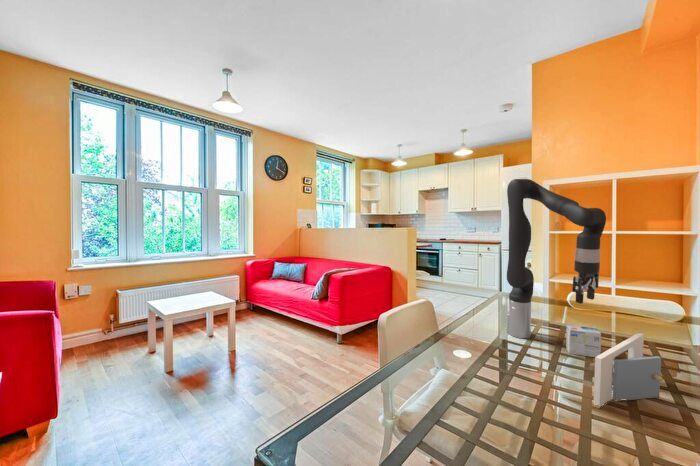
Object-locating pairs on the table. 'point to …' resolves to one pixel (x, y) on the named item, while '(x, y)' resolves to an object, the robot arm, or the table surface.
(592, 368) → the block
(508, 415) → the table surface
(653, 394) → the door
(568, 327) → the light bulb box
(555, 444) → the table surface
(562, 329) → the table surface
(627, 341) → the wall frame
